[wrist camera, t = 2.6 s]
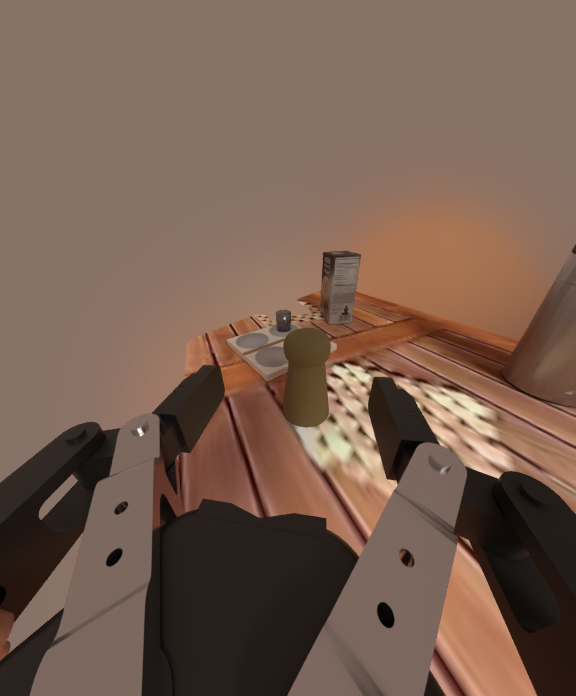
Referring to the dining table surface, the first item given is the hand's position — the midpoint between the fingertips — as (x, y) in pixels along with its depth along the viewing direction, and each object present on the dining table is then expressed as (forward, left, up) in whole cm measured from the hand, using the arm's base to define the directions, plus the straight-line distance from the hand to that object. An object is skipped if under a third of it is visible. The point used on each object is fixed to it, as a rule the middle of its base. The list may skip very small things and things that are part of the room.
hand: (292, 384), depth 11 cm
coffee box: (-36, -28, -13) cm, 48 cm away
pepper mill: (-8, -8, -13) cm, 18 cm away
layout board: (-15, -24, -13) cm, 31 cm away
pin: (-19, -28, -12) cm, 36 cm away
